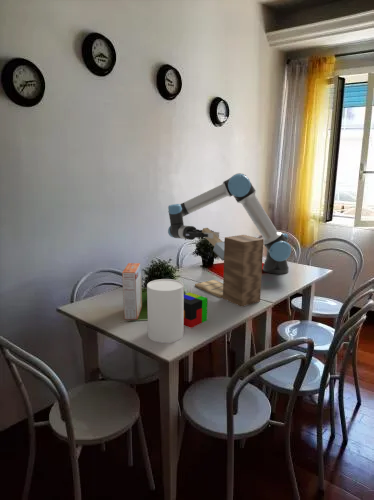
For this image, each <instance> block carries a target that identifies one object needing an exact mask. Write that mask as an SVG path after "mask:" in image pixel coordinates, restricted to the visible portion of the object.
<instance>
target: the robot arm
mask: <svg viewBox="0 0 374 500" xmlns="http://www.w3.org/2000/svg"><path fill="white" fill-rule="evenodd" d="M256 192H257V191H256V189H255V187H254V186H253V183H252V182H251V181H250V179H249V177H248V176H247V175H246V174H244V173H235V174H233V175H232V176H231V177H230V178H228V179H225V180H224V181H222V183H221V184H219V185H217V186H215V187H214V188H212V189H211V188H210V189H209V190H207V191H205V192H202V193H200V194H198V195H196V196H195V197H193V198H191V199H190V198H189V199H188V200H186V201H184V202H182V203H174V204H170V205H168V207H167V208H168V212H167V213H168V216H169V223H170V226H169V227H168V230H167V233H168V236H170V237H171V238H173V239H182V240H184V241H186V240H190V241H194V240H195V239H202V240H204V239H206V238H211V239H213V233H214V234H215V235H216V236H217V237H218V238H219V239H220V232H219V231H214V230H212V229H210V230H211V231H212V232H213V233H206V232H204V233H202V230H203V229H197V228H196V227H195V226H193V225H184V217H186V216H187V215H190V214H191V213H193V212H196V211H198V210H200V209H202V208H204V207H207V206H209V205H212V204H214V203H216V202H218V201H221V200H222V199H225V198H226V197H229V198H230V197H232V196H233V198H234V199H235V201H236V202H237V204H241V205H242V207H243V208H244V210H245V212H246V213H247V214H248V216H249V218H250V219H251V221H252V222H253V224H254V226H255V228H256V229H257V231H258V232H259V234H260V235H261V237H262V239H264V240H263V246H264V247H265V249H266V257H265V259H264V263H263V264H262V272H265V273H269V274H273V275H283V274H284V275H285V274H287V273H289V267H290V266H289V264H288V258H290V256H291V253H292V247H291V245H290V244H289V242H288V241H289V236H288V233H286V232H285V233H283V232H282V231H278V230H277V228H276V226H275V225H274V223H273V222H272V220H271V218H270V217H269V215H268V214H267V212H266V210H265V209H264V207H263V205H262V204H261V202H260V200H259V199H258V198H257V196H256Z"/></svg>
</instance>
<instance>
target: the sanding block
mask: <svg viewBox="0 0 374 500" xmlns="http://www.w3.org/2000/svg"><path fill="white" fill-rule="evenodd" d="M201 230H202V233H204V232H206V233H213V232H212V231H213V230H212V229H210V228H208V227H202V229H201ZM211 230H212V231H211ZM205 240H207V241H208V242H209V243H210V244H211V245H212V246H213V250H212V252H213V253H214V254H215V255H216V256H217V257H218V258H219V259H221V261H223V262H224V243H225V240H224V241H223V240H221V239H220V237H219V238H218V237H217V236H216V235H215V234H214V233H213V239H211V238H205Z"/></svg>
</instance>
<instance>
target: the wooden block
mask: <svg viewBox="0 0 374 500" xmlns="http://www.w3.org/2000/svg"><path fill="white" fill-rule="evenodd" d="M224 241H225V243H224V260H223V281H222V283H223V298H222V299H223V300H226V301H227V300H228V302H229V303H233V304H234V305H237V306H238V307H241V308H242V307H245V306H250V305H253V304H256V303H259V302H260V303H261V293H262V291H261V290H262V274H263V255H264V253H263V252H264V244H263V243H264V238H259V237H255V236H250V235H247V234H238V235H232V236H227V237H224Z"/></svg>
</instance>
